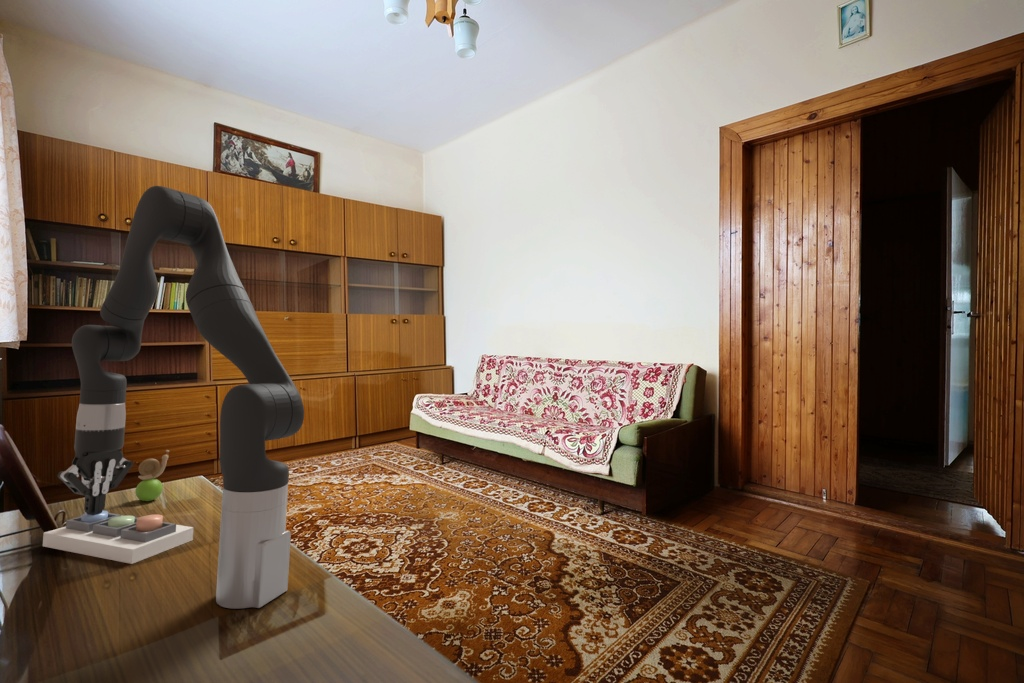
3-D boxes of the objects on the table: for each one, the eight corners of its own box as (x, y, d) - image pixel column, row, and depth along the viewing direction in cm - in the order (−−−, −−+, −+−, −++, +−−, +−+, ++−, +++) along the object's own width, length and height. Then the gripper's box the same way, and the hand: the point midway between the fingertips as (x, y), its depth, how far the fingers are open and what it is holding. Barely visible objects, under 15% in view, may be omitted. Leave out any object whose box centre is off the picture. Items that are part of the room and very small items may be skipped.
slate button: (112, 522, 97) (113, 511, 97) (90, 528, 94) (91, 518, 94) (97, 519, 98) (98, 509, 98) (75, 525, 95) (76, 515, 95)
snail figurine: (170, 499, 122) (173, 451, 122) (140, 505, 116) (143, 455, 117) (160, 495, 125) (163, 448, 125) (130, 501, 119) (134, 451, 120)
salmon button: (167, 526, 94) (168, 516, 94) (146, 533, 90) (147, 522, 90) (151, 523, 95) (152, 513, 95) (130, 530, 91) (131, 519, 91)
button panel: (192, 540, 97) (194, 519, 97) (131, 563, 85) (133, 540, 86) (110, 525, 103) (111, 506, 103) (42, 546, 91) (44, 524, 91)
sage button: (139, 527, 96) (139, 516, 96) (118, 534, 92) (118, 523, 92) (123, 524, 97) (124, 514, 97) (102, 531, 93) (102, 520, 93)
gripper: (77, 431, 89) (70, 527, 89) (148, 423, 102) (142, 506, 101) (48, 428, 91) (40, 521, 91) (121, 420, 104) (115, 502, 103)
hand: (94, 513), depth 96 cm, fingers closed
